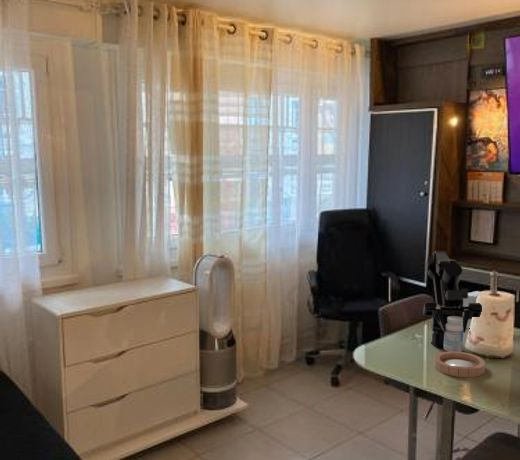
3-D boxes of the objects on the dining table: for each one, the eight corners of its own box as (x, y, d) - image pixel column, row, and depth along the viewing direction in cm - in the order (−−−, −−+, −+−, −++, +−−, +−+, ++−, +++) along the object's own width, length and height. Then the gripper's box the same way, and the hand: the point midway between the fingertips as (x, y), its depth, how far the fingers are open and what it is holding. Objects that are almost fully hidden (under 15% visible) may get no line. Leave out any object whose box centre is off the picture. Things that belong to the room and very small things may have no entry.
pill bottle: (452, 345, 186) (454, 314, 184) (466, 351, 181) (468, 319, 179) (439, 348, 184) (441, 316, 182) (453, 354, 178) (455, 321, 176)
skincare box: (475, 324, 229) (477, 290, 227) (487, 328, 224) (488, 293, 222) (461, 327, 226) (462, 292, 224) (472, 331, 220) (473, 296, 218)
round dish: (466, 357, 192) (467, 349, 192) (494, 374, 177) (494, 366, 177) (426, 361, 189) (426, 353, 189) (450, 379, 174) (451, 371, 173)
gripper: (425, 279, 184) (428, 320, 175) (482, 280, 181) (488, 322, 172) (421, 295, 193) (424, 334, 184) (476, 296, 190) (482, 337, 181)
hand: (454, 331), depth 180 cm, fingers closed on pill bottle, 6 cm apart
